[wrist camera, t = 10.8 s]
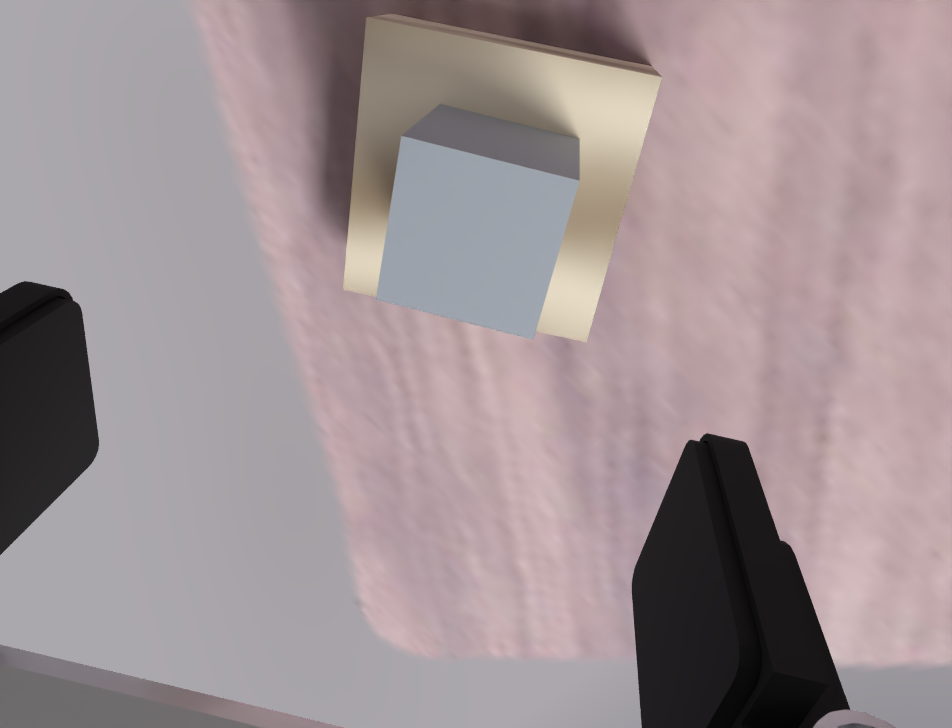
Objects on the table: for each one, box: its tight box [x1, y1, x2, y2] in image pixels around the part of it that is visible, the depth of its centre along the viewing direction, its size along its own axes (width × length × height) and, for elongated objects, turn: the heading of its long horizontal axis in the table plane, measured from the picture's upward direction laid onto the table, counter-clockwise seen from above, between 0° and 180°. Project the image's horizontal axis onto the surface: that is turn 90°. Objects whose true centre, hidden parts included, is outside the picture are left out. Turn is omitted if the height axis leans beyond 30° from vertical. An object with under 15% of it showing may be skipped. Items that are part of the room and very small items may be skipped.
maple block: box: [343, 14, 662, 342], centre depth 27 cm, size 10×10×4 cm
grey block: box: [376, 104, 580, 339], centre depth 23 cm, size 5×5×6 cm
